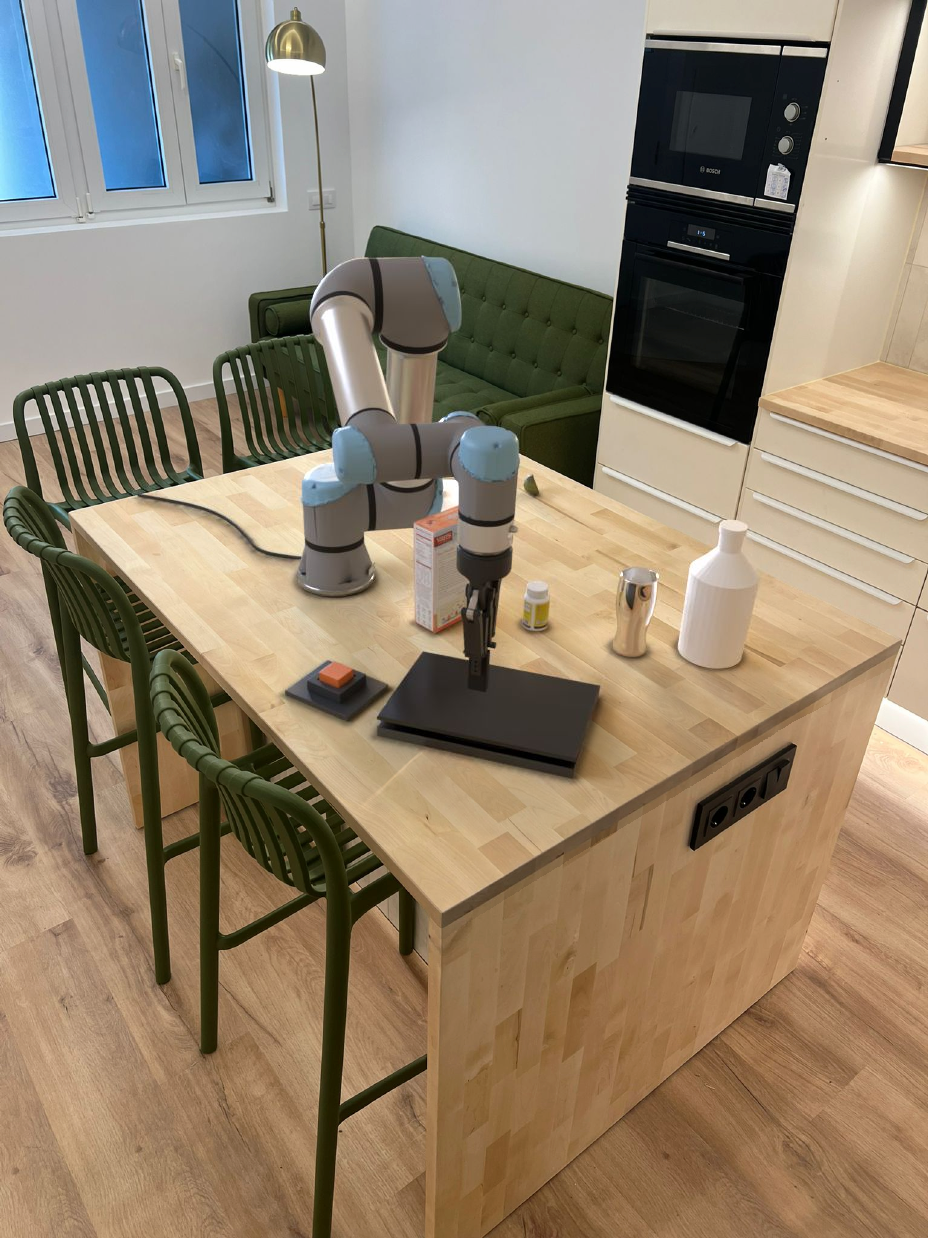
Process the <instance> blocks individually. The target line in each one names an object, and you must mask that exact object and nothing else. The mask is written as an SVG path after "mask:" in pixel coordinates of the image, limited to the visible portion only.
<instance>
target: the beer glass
mask: <svg viewBox="0 0 928 1238" xmlns="http://www.w3.org/2000/svg"><path fill="white" fill-rule="evenodd" d="M659 578H660V577H659V574H658V573H657V572H655V571H654V570H652V569H650V568H648V567H643V566H628V567H625V568H623V569H622V570H621V571H620V575H619V580H618V583H617V589H616V595H615V596H616V597H615V613H616V615H615V616H616V632H615V635H614V637H613V641H612V645H611V646H612V647H611V648H612V650H613V651H614V652H615V653H616V654H618V655H620V656H622V657H626V658H638V657H641V656H643V655H644V654H646V652H647V632H648V628H649V626H650V624H651V620H652V617H653V614H654V612H655V608H656V605H657V600H658V590H659Z"/></svg>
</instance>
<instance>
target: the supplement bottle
mask: <svg viewBox="0 0 928 1238" xmlns="http://www.w3.org/2000/svg"><path fill="white" fill-rule="evenodd" d="M550 601H551V598H550V595H549V585H548V583H546V582H544V581H541V580H533V581H529V582H528V583H527V584H526V589H525V594H524V596H523V603H522V604H523V605H522V606H523V607H522V626H523V628H524V629H526V630H528V631H531V632H542V631H544V630H546V629H547V628H548V625H549V615H550V603H551V602H550Z"/></svg>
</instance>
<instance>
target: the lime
mask: <svg viewBox="0 0 928 1238" xmlns="http://www.w3.org/2000/svg"><path fill="white" fill-rule="evenodd" d="M523 489H524V491H525V492H526V493H527V494H530V495H532V496H538V495H540V491H539V487H538V485H537V483H536V480H535V476H534V474H533V473H530V474H528V475H527V476H526V477H525V478H524V481H523Z"/></svg>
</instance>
